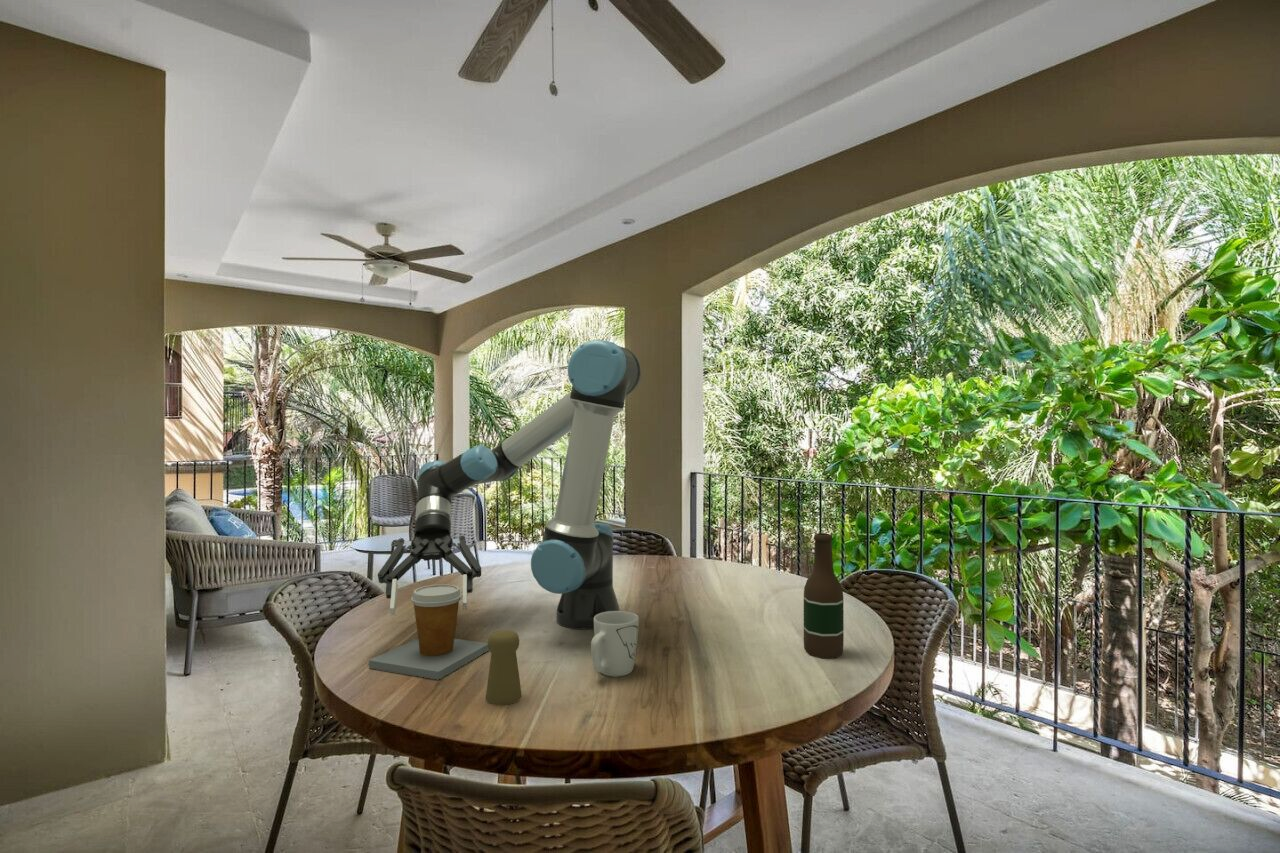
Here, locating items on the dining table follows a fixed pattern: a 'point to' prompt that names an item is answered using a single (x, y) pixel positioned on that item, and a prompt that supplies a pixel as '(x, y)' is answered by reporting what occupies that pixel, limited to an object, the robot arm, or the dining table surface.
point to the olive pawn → (503, 669)
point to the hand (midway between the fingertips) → (429, 609)
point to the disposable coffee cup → (436, 617)
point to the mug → (614, 642)
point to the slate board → (428, 659)
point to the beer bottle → (823, 604)
